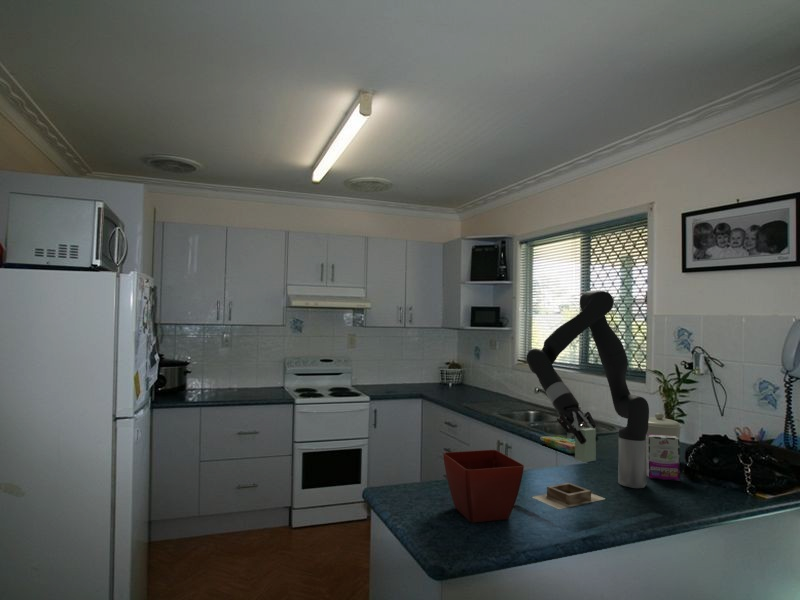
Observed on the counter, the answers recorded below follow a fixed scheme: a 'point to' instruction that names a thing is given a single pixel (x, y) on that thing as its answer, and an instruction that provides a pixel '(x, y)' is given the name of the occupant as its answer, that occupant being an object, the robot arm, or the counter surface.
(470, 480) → the plant pot
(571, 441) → the puzzle game
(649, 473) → the candy bar box
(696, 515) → the counter surface
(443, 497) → the counter surface
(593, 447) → the sage block
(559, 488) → the puzzle board
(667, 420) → the canister
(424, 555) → the counter surface
